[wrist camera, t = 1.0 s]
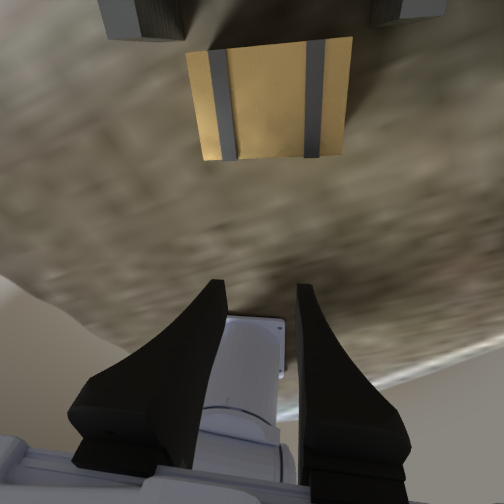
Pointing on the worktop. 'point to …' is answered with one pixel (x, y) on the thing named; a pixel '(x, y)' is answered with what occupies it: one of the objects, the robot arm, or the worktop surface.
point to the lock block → (271, 99)
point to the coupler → (170, 26)
